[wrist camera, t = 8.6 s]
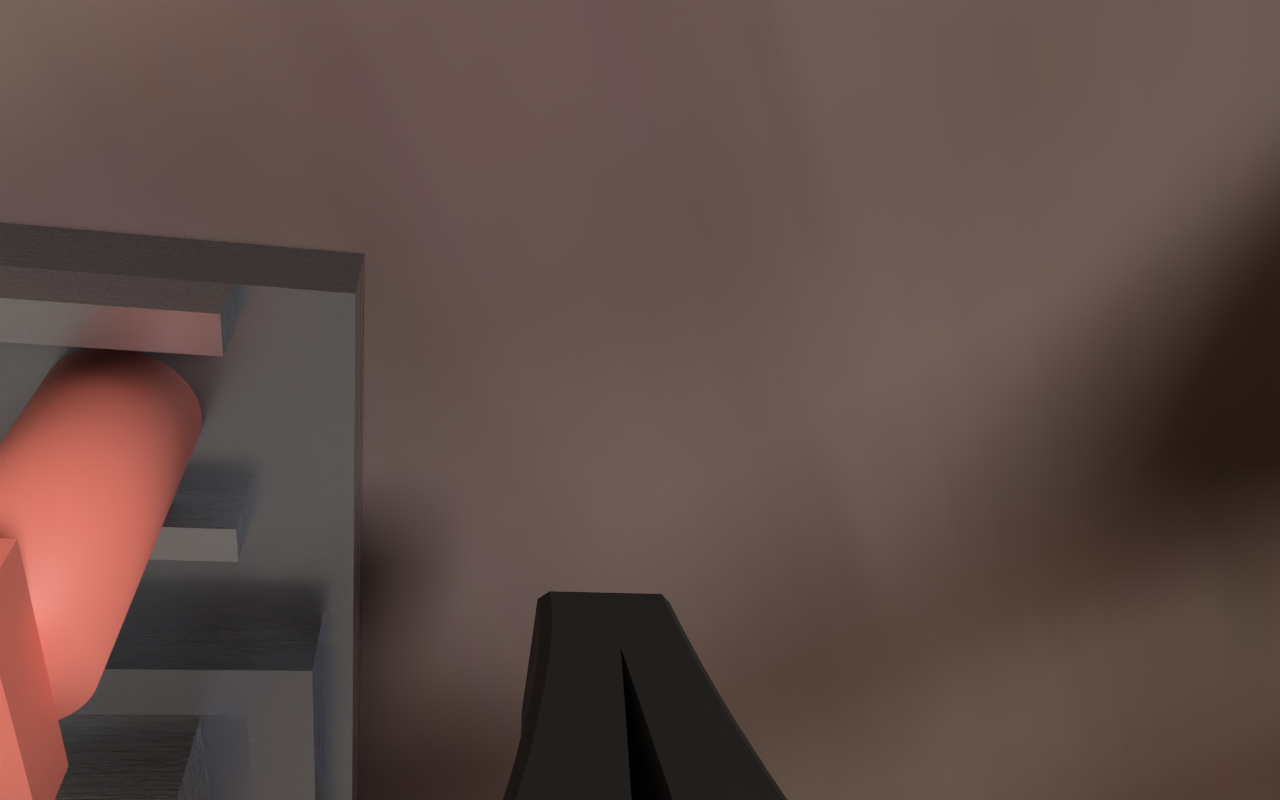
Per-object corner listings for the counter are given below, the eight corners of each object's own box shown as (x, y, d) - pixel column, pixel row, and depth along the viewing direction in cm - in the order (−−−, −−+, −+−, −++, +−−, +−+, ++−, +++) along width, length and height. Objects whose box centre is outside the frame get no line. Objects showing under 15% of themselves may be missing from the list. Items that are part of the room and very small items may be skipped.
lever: (192, 312, 13) (46, 603, 9) (209, 507, 15) (94, 831, 10) (20, 300, 12) (-223, 596, 8) (59, 501, 14) (-127, 836, 10)
